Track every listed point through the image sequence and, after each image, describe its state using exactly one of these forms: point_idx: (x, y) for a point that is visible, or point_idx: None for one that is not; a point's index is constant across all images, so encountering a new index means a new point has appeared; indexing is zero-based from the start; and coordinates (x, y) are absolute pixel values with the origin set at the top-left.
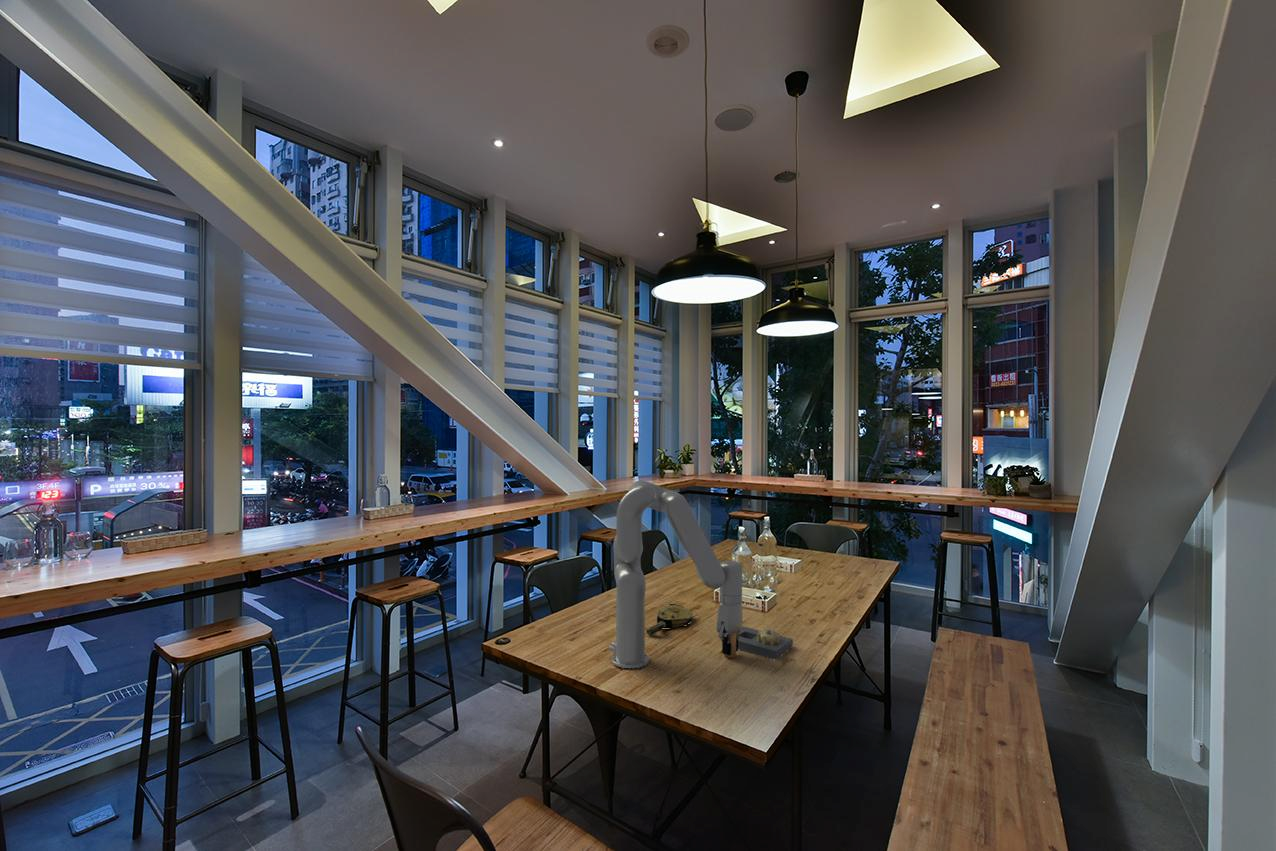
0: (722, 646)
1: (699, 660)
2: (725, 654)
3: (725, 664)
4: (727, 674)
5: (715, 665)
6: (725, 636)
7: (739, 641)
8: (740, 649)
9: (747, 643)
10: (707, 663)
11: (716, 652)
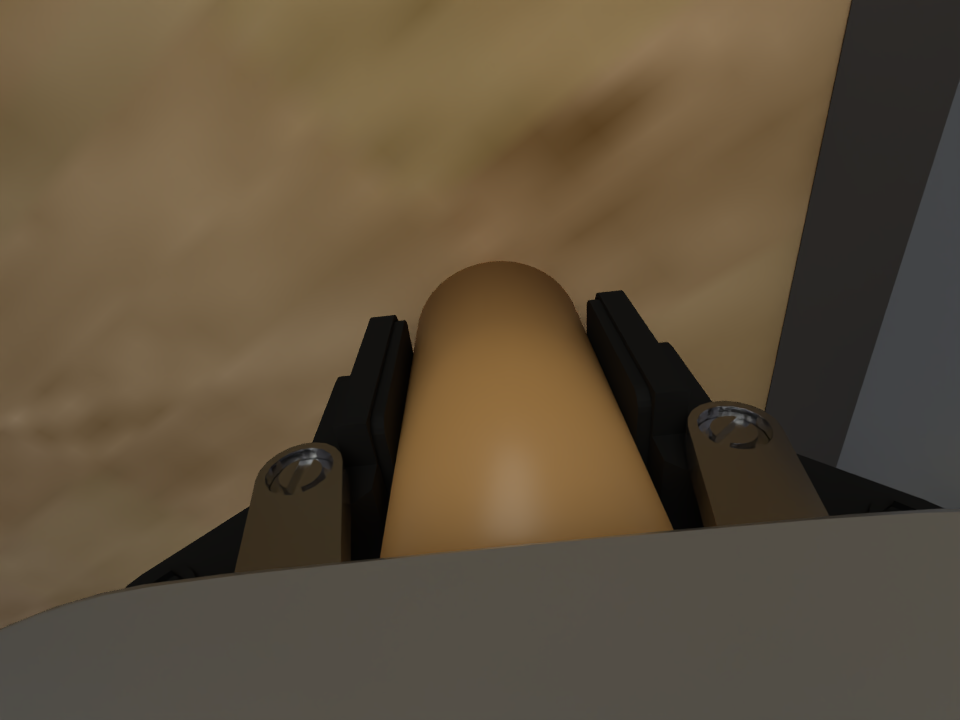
0: (353, 373)
1: (8, 90)
2: (417, 333)
3: (275, 414)
4: (130, 537)
5: (144, 357)
6: (382, 546)
7: (873, 342)
8: (794, 304)
9: (836, 466)
10: (76, 253)
11: (482, 88)
